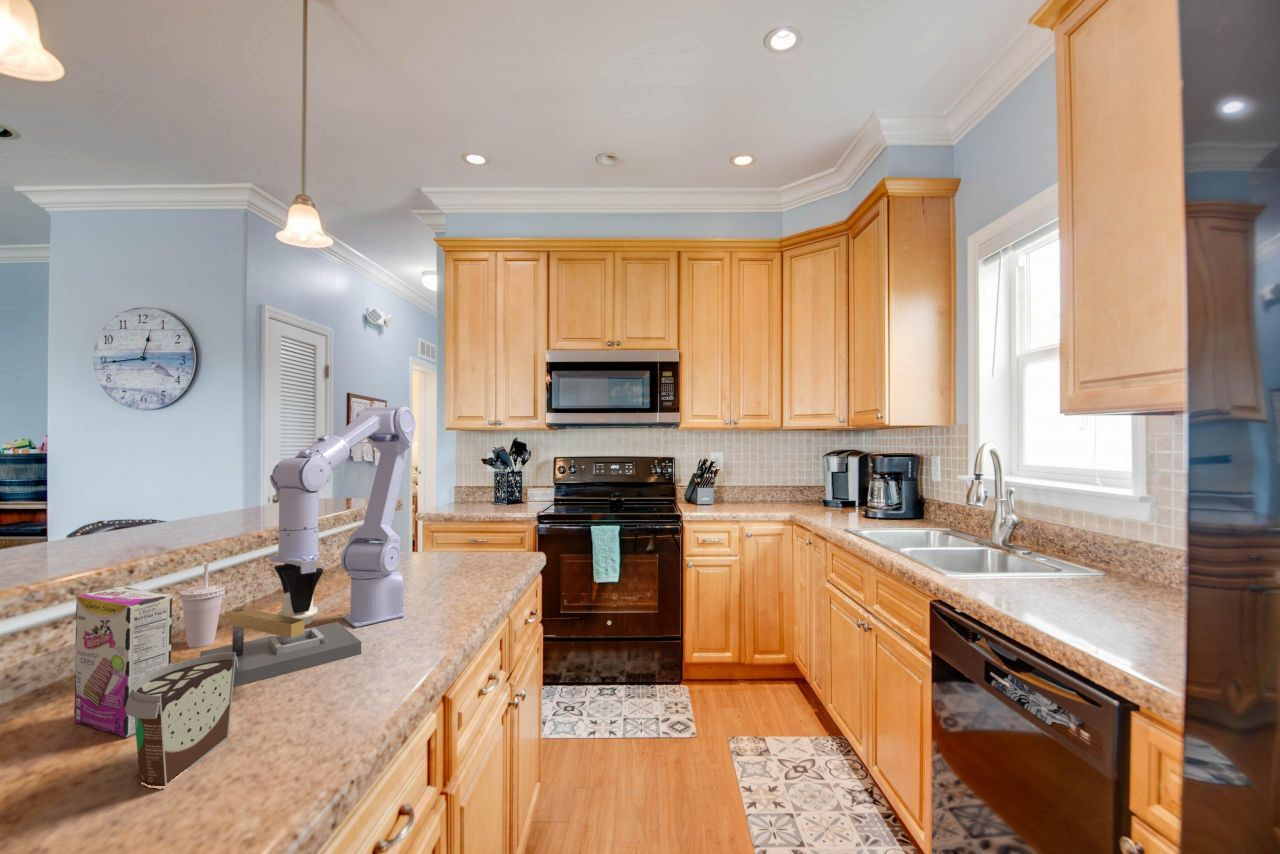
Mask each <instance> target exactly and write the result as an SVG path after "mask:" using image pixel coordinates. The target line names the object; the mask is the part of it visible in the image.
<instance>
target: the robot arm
mask: <svg viewBox="0 0 1280 854" xmlns="http://www.w3.org/2000/svg"><path fill="white" fill-rule="evenodd" d="M416 426H417V422H416V419H415V416H414V414H413V411H412V410H411V408H410V407H408V406H405V405H404V406H387V407H386V406H385V407H383V406H379V407H373V406H366V407H365V406H364V408H362V409H361V410H359V411H357V412H356V417H355V418H354V419H353V420H352V421H351V422H350V423H349V424H348V425H347V426H345V427H344V428H343V429H342V430H340V431H339V432H338V433H337V434H335V435H334V434H321V435H319V436H317V438H316V439H317V441H315V442H314V443H312V444H311V445H310V446H308V447H306V448H304V449H303V448H302V449H301V450H300V451H298V453H297V455H296V456H295V457H287V458H283V459H281V460H280V461H279V462H278V463H277V464H276V465H275V466H274V467H273V470H272V473H271V474H270V475H269V479H270V484H271V485H272V487H273V488H274V490H275V499H277V501H278V545H277V546H278V547H277V548H278V550H277V551H278V553H277V555H273V556H270V557H269V562H270V563H283V564H278V565H274V567H273V568H274V570H275V571H276V573H277V576H278V577H279V578H278V579H279V580H280V583H281V586H282V591H283V594H285V593H287V592H290V598H291V605H292V609H293V612H294V614H296V613H301V612H306V611H309V608H310V605H311V601H312V597H313V598H314V592H315V589H316V587H317V584H318V582H319V580H320V578H321V576H322V575H323V573H324V569H323V568H322V567H317V560H318V559H319V558H320V556H321V555H320V553H321V552H320V551H319V530H320V529H319V524H320V520H319V517H320V516H319V515H320V514H319V513H320V512H319V511H320V490H321V489H324V487H325V486H326V485H327V482H328V479H329V477H330V475H331V474H332V472H333V471H334V470H335V469H337V468H338V467H340V466H341V465H342V464H343V463H344V462H345V461H347V459H349V457H350V454H351V449H352V448H354V447H356V446H357V445H358V444H360V443H361V442H363V441H364V440H366V439H367V441H368V442H369V444H371V447H373V448H375V449H377V450H378V451H379V452H378V453H380V455H379V459H378V463H377V467H376V471H375V475H374V479H373V482H372V483H373V484H372V488H371V491H370V495H369V501H368V502H367V503H368V504H367V507H366V511H365V516H364V521H363V524H362V526H360V527H359V528H357V529H356V530H354V531H353V532H352V533H350V534H349V538H348V541H347V543H346V545H345V546H344V548H343V550H342V552H341V557H340V562H341V567H342V569H343V570H344V571H345V572H347V577H350V605H349V608H350V612H349V614H346V615H343V618H342V619H344V620H345V621H347V622H348V623H349V624H350V625H352V627H354V628H358V627H364V626H367V625H373V624H377V623H381V622H385V621H389V620H394V619H399V618H403V617H405V616H406V615H405V613H404V597H405V596H404V595H405V594H404V592H405V591H404V589H405V588H404V586H405V585H404V579H403V575H402V573H401V572H400V571H399V570H396V569H397V568H398V566H399V563H400V560H401V541H402V539H401V537H400V536H399V535H398V534H397V533H396V532H395V531H394V530H393V529H392V525H393V524H392V523H393V520H394V515H395V513H396V507H397V502H398V498H399V495H400V490H401V486H402V485H401V484H402V480H403V475H404V471H405V467H406V462H407V458H408V453H409V449H410V448H411V447H412V445H413V444H412V443H413V438H414V433H415V429H416Z"/></svg>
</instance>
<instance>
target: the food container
mask: <svg viewBox="0 0 1280 854" xmlns="http://www.w3.org/2000/svg"><path fill="white" fill-rule="evenodd" d="M235 668H238V660H237V657H236V652H232V653H220V654H213V655H208V656H202V657H200V656H197V657H193V658H191V659H185V660H182V661H179V662H176V663H173V664H172V663H171V665H169V666H166V667H163V668H161V669H158V670H156V671H154V672H152V673H150V674H148V675H146V676H144V677H143V678H141V679H140V680H138V681H137V682H136V683H135V685H134V687H133V689H132V690H131V692H130V694H129V697H128V700H127V704H126V707H125V712H126V713H127V714H128V715H130V716H132V717H135V729H136V734H135V740H136V751H137V752H136V753H137V763H138V765H137V766H138V773H139V774H138V775H139V781H140V780H141V782H143V783H145V784H147V785H151V786H153V785H154V786H166V785H167V783H169V782H170V781H171V780H172V779H174V778H175V777H176V776H178V775H179V774H180V773H181V772H183V771H184V770H186V769H189V768H190V767H192V766H193V765H195V764H196V763H197V762H199V761H200V760H201V759H202V758H204V757H205V756H206V755H207V756H208V754H209V753H210V754H211V753H212V752H214V751H215V750H216V749H218V748H219V747H220V746H221V745H222V744H223V743H224V742H226V741H227V740H228V739H229V736H230V724H231V715H232V713H231V711H232V702H233V692H234V690H233V689H234V687H233V682H234V671H235ZM210 754H209V755H210ZM207 756H206V757H207ZM206 757H205V758H206ZM202 760H203V759H202ZM202 760H201V761H202ZM201 761H200V762H201ZM200 762H199V763H200ZM197 764H198V763H197ZM197 764H196V765H197ZM196 765H195V766H196ZM192 768H193V767H192Z"/></svg>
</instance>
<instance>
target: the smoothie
mask: <svg viewBox="0 0 1280 854" xmlns="http://www.w3.org/2000/svg"><path fill="white" fill-rule="evenodd" d="M203 565H204V567H203V569H204V570H203V585H200V586H195V587H189V588H186V589H184V590H182V591H179V597H178V599H179V600H181V604H182V605H181V607H182V613H183V621H184V627H185V635H186V642H187V643H186V645H187V648H190V649H195V648H203V647H207V646H210V645H212V644H214V643H215V640H216V636H217V632H218V631H217V630H218V625H219V619H220V618H219V616H220V613H221V607H222V600H223V595H224V594H225V593H226V586H225V585H223V584H209V563H205V564H203Z"/></svg>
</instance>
